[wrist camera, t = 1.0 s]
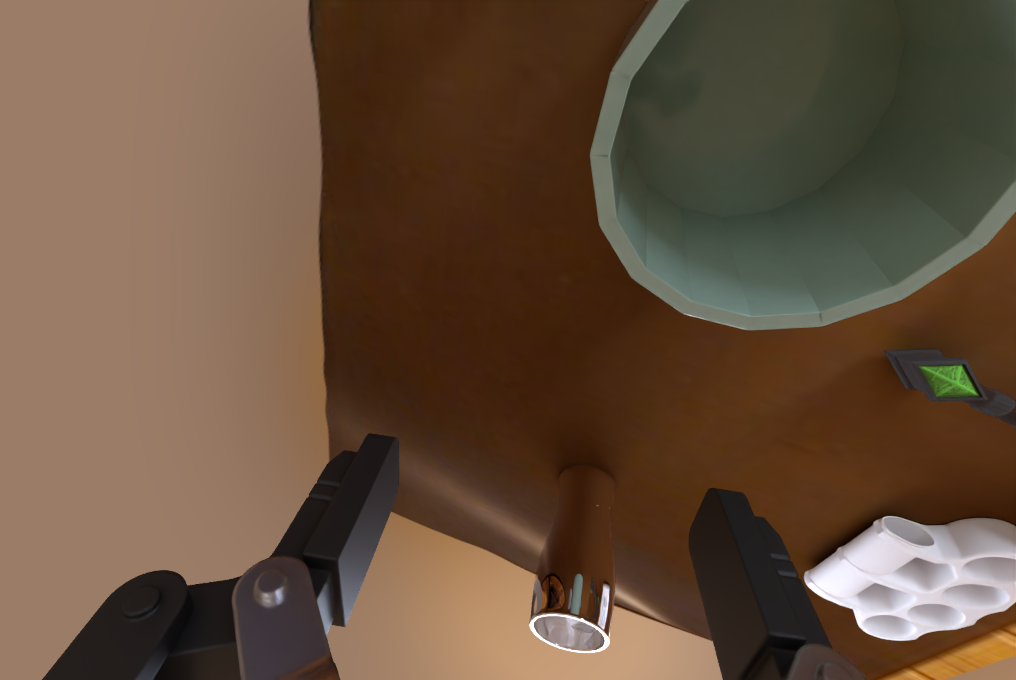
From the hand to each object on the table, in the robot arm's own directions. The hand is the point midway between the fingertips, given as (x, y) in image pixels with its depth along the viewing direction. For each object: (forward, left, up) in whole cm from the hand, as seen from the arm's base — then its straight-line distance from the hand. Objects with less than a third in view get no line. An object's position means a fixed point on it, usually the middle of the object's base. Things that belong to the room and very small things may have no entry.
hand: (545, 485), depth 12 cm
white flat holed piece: (+42, +24, -25) cm, 54 cm away
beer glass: (+32, -6, -25) cm, 41 cm away
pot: (-3, +8, -24) cm, 26 cm away
